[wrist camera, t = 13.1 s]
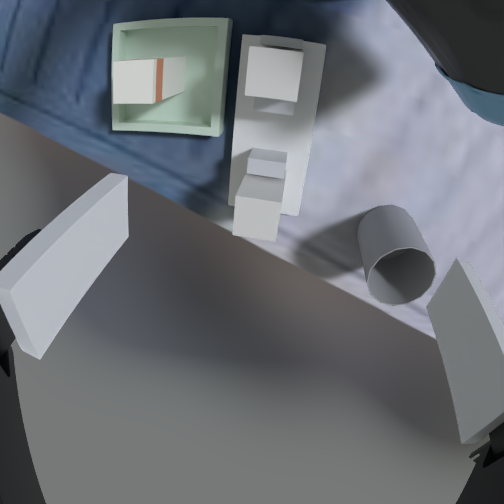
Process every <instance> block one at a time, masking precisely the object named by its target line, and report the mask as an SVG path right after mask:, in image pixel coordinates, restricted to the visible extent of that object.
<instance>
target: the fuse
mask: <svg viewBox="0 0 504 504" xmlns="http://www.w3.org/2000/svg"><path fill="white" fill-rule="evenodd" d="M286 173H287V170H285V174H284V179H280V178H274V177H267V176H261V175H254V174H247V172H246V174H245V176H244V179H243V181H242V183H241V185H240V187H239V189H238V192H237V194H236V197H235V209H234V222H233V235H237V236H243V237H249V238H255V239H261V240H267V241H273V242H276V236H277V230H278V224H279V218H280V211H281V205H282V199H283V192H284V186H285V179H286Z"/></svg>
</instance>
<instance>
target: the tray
mask: <svg viewBox="0 0 504 504" xmlns="http://www.w3.org/2000/svg"><path fill="white" fill-rule="evenodd" d="M232 28H233V20H232V19H230V18H170V19H155V20H143V21H133V22H125V23H117V24H113V41H112V128H113V130H127V131H151V132H168V133H183V134H195V135H206V136H216V137H219V136H220V135H221V134H222V133H223V132H224V118H225V105H226V93H227V81H228V70H229V59H230V48H231V38H232ZM148 57H186V69H185V87H184V92H182V93H179V94H176V95H174V96H171V97H168V98H166V99H163V100H161V101H158V102H156V103H153V104H113V62H115V61H121V60H130V59H138V58H148Z"/></svg>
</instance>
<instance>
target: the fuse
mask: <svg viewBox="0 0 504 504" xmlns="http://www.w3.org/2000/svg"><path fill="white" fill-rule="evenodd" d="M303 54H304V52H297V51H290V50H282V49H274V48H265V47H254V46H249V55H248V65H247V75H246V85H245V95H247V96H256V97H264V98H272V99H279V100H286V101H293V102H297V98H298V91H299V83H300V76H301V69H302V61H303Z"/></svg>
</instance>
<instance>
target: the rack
mask: <svg viewBox="0 0 504 504" xmlns="http://www.w3.org/2000/svg"><path fill="white" fill-rule="evenodd" d="M249 46H254V47H265V48H274V49H282V50H290V51H297V52H304V54H303V61H302V69H301V76H300V83H299V91H298V98H297V102H293V101H286V100H279V99H272V98H264V97H256V96H247V95H245V85H246V75H247V65H248V55H249ZM325 52H326V45H325V44H319V43H313V42H307V41H303V40H301V39H294V38H287V37H278V36H269V35H261V36H257V35H244V34H243V36H242V45H241V55H240V65H239V76H238V86H237V97H236V109H235V120H234V132H233V145H232V157H231V170H230V184H229V198H228V205H229V206H235V197H236V194H237V192H238V189H239V187H240V185H241V183H242V181H243V179H244V176H245V174H246V172H247V174H254V175H261V176H267V177H274V178H280V179H284V174H285V170H287V173H286V179H285V186H284V192H283V199H282V205H281V211H280V213H281V214H287V215H293V216H298V214H299V209H300V204H301V198H302V193H303V188H304V182H305V177H306V171H307V165H308V160H309V154H310V148H311V142H312V136H313V130H314V124H315V118H316V112H317V106H318V99H319V93H320V86H321V80H322V73H323V66H324V59H325Z"/></svg>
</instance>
